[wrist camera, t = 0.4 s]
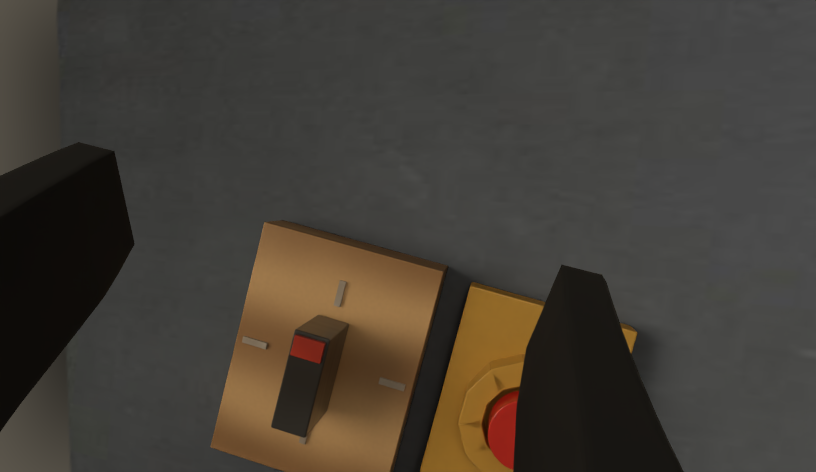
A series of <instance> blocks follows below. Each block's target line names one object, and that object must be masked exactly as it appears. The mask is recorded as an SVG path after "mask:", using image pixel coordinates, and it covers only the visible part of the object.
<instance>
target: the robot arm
mask: <svg viewBox="0 0 816 472" xmlns="http://www.w3.org/2000/svg"><path fill="white" fill-rule="evenodd" d="M133 246H134V239H133V235H132V230H131V226H130V221H129V217H128V212H127V207H126V203H125V198H124V194H123V189H122V185H121V180H120V175H119V171H118V166H117V162H116V157H115V153H114V151H111V150H107V149H103V148H99V147H95V146H91V145H87V144H83V143H79V142H78V143H76V144H73V145H70V146H68V147H65V148H62V149H60V150H58V151H55V152H53V153H50V154H48V155H46V156H43V157H41V158H39V159H37V160H35V161H32V162H30V163H28V164H25V165H23V166H21V167H19V168H17V169H14V170H12V171H10V172H8V173H5V174H3V175H1V176H0V431H1V430H2V428H3V427H4V426H5V424H6V423H7V421H8V420H9V419H10V417H11V416H12V415H13V413H14V412H15V410H16V409H17V408H18V406H19V405H20V404H21V402H22V401H23V400H24V398H25V397H26V396H27V394H28V393H29V392H30V391H31V389H32V388H33V387H34V386H35V385H36V383H37V382H38V381H39V380H40V378H41V377H42V376H43V374H44V373H45V372H46V371H47V369H48V368H49V367H50V366H51V364H52V363H53V362H54V360H55V359H56V358H57V357H58V355H59V354H60V353H61V352H62V350H63V349H64V348H65V347H66V345H67V344H68V343H69V341H70V340H71V339H72V338H73V336H74V335H75V334H76V333H77V331H78V330H79V329H80V327H81V326H82V325H83V324H84V322H85V321H86V320H87V318H88V317H89V316H90V314H91V313H92V312H93V311H94V309H95V308H96V307H97V305H98V304H99V303H100V301H101V300H102V299H103V297H104V296H105V295H106V293H107V291H108V290H109V288H110V286H111V285H112V283H113V281H114V280H115V278H116V276H117V275H118V273H119V271H120V269H121V268H122V266H123V264H124V262H125V260H126V259H127V257H128V255H129V253H130V251H131V249H132V248H133ZM513 472H683V470H682V468H681V465H680V463H679V461H678V459H677V457H676V455H675V453H674V451H673V449H672V447H671V445H670V443H669V441H668V439H667V437H666V435H665V432H664V430H663V428H662V426H661V424H660V421H659V419H658V417H657V415H656V413H655V410H654V408H653V405H652V403H651V401H650V398H649V396H648V394H647V391H646V389H645V387H644V384H643V382H642V380H641V377H640V375H639V372H638V370H637V367H636V365H635V362H634V360H633V357H632V355H631V352H630V349H629V347H628V344H627V341H626V339H625V336H624V333H623V331H622V328H621V325H620V322H619V319H618V316H617V314H616V311H615V308H614V305H613V302H612V299H611V296H610V292H609V289H608V286H607V283H606V281H605V279H604V278H603V276H602V275H600V274H596V273H592V272H588V271H584V270H580V269H576V268H572V267H569V266H565V265H561V268H560V270H559V272H558V275H557V277H556V279H555V282H554V284H553V286H552V289H551V291H550V293H549V296H548V298H547V300H546V303H545V305H544V307H543V310H542V312H541V314H540V317H539V319H538V321H537V324H536V326H535V328H534V331H533V333H532V335H531V338H530V340H529V342H528V345H527V347H526V352H525V358H524V364H523V370H522V376H521V382H520V388H519V394H518V401H517V408H516V426H515V445H514V466H513Z"/></svg>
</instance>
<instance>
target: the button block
mask: <svg viewBox="0 0 816 472" xmlns="http://www.w3.org/2000/svg"><path fill="white" fill-rule="evenodd" d="M545 303H546V302H543V301H539V300H536V299H532V298H529V297H525V296H521V295H518V294H514V293H511V292H507V291H503V290H500V289H496V288H493V287H489V286H486V285H482V284H478V283H475V282H472V283H471V285H470V289H469V292H468V296H467V300H466V303H465V307H464V311H463V314H462V318H461V322H460V325H459V329H458V333H457V336H456V340H455V344H454V347H453V351H452V355H451V358H450V362H449V366H448V369H447V373H446V377H445V380H444V384H443V388H442V391H441V395H440V399H439V402H438V406H437V410H436V413H435V417H434V421H433V424H432V428H431V432H430V435H429V439H428V443H427V446H426V450H425V454H424V457H423V461H422V465H421V468H420V472H513V470H512V469H509V468H508V467H506V466H504V465H503V464H502V463H501V462H499V461H498V460H497V458H496V457H495V456H494V454H493V453H492V451H491V449H490V446H489V442H488V420H489V415H490V412H491V410H492V408H493V406H494V405H495V403H496V402H497V401H498V400H499V399H500V398H501V397H503V396H504V395H506V394H508V393H511V392H514V391H519V388H520V382H521V376H522V370H523V364H524V358H525V352H526V347H527V345H528V342H529V340H530V338H531V335H532V333H533V331H534V328H535V326H536V324H537V321H538V319H539V317H540V314H541V312H542V310H543V307H544V305H545ZM620 325H621V328H622V331H623V333H624V336H625V339H626V341H627V344H628V347H629V349H630V352H631V354H632V350H633V347H634V344H635V340H636V337H637V332H636V331H635V330H634V329H633V328H632V327H631V326H629V325H625V324H622V323H620Z"/></svg>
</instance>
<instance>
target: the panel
mask: <svg viewBox="0 0 816 472" xmlns="http://www.w3.org/2000/svg"><path fill="white" fill-rule="evenodd" d="M447 268H448V266H447V265H443V264H440V263H436V262H432V261H429V260H425V259H422V258H418V257H414V256H411V255H407V254H404V253H400V252H396V251H393V250H389V249H385V248H382V247H378V246H375V245H371V244H367V243H364V242H360V241H357V240H353V239H349V238H346V237H342V236H339V235H335V234H331V233H328V232H324V231H320V230H317V229H313V228H310V227H306V226H302V225H299V224H295V223H292V222H288V221H284V220H281V221H270V222H264V226H263V231H262V235H261V239H260V243H259V247H258V251H257V256H256V260H255V264H254V268H253V272H252V276H251V281H250V285H249V289H248V293H247V297H246V301H245V306H244V310H243V314H242V318H241V322H240V326H239V331H238V335H237V339H236V343H235V347H234V352H233V356H232V360H231V364H230V368H229V372H228V377H227V381H226V385H225V389H224V393H223V397H222V402H221V406H220V410H219V414H218V418H217V422H216V427H215V431H214V435H213V439H212V443H211V448H214V449H217V450H220V451H223V452H226V453H229V454H233V455H236V456H239V457H242V458H245V459H248V460H251V461H254V462H257V463H260V464H263V465H266V466H269V467H272V468H275V469H278V470H281V471H284V472H393V470H394V466H395V462H396V458H397V455H398V451H399V447H400V443H401V440H402V436H403V432H404V429H405V425H406V421H407V417H408V414H409V410H410V406H411V403H412V399H413V395H414V391H415V388H416V384H417V380H418V376H419V373H420V369H421V365H422V362H423V358H424V354H425V350H426V347H427V343H428V339H429V335H430V332H431V328H432V324H433V321H434V317H435V313H436V309H437V306H438V302H439V298H440V294H441V291H442V287H443V283H444V280H445V276H446V272H447ZM317 315H322V316H325V317H329V318H332V319H335V320H339V321H342V322H346V323H348V324H349V327H348V331H347V335H346V339H345V343H344V347H343V351H342V355H341V359H340V363H339V366H338V370H337V374H336V378H335V382H334V386H333V390H332V394H331V398H330V402H329V406H328V409H327V411H326V413H325V414H324V415H323V416H322V418H321V419H320V420H319V421H318V423H317V424H316V425H315V426H314V427H313V429H312V430H311V431H310V432H309V434H308V435H307V436H306V437H305V438H303V437H300V436H296V435H293V434H290V433H287V432H284V431H281V430H278V429H274V428H272V427H271V423H272V419H273V415H274V411H275V407H276V403H277V399H278V395H279V391H280V387H281V383H282V379H283V375H284V371H285V367H286V363H287V359H288V355H289V351H290V347H291V343H292V339H293V335H294V331H295V329H297V328H298V327H300V326H301V325H303V324H304V323H306V322H308V321H309V320H311V319H312V318H314V317H315V316H317Z"/></svg>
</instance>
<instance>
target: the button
mask: <svg viewBox="0 0 816 472" xmlns="http://www.w3.org/2000/svg"><path fill="white" fill-rule="evenodd" d="M518 394H519V391H514V392H511V393H508V394H506V395H504V396H503V397H501V398H500V399H499V400H498V401H497V402H496V403H495V405H494V406H493V408H492V410H491V412H490V415H489V420H488V442H489V446H490V449H491V451H492V453H493V454H494V456H495V457H496V458H497V460H498V461H499V462H501V463H502V464H503V465H504V466H506V467H508V468H509V469H512V470H513V466H514V445H515V426H516V408H517V401H518Z"/></svg>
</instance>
